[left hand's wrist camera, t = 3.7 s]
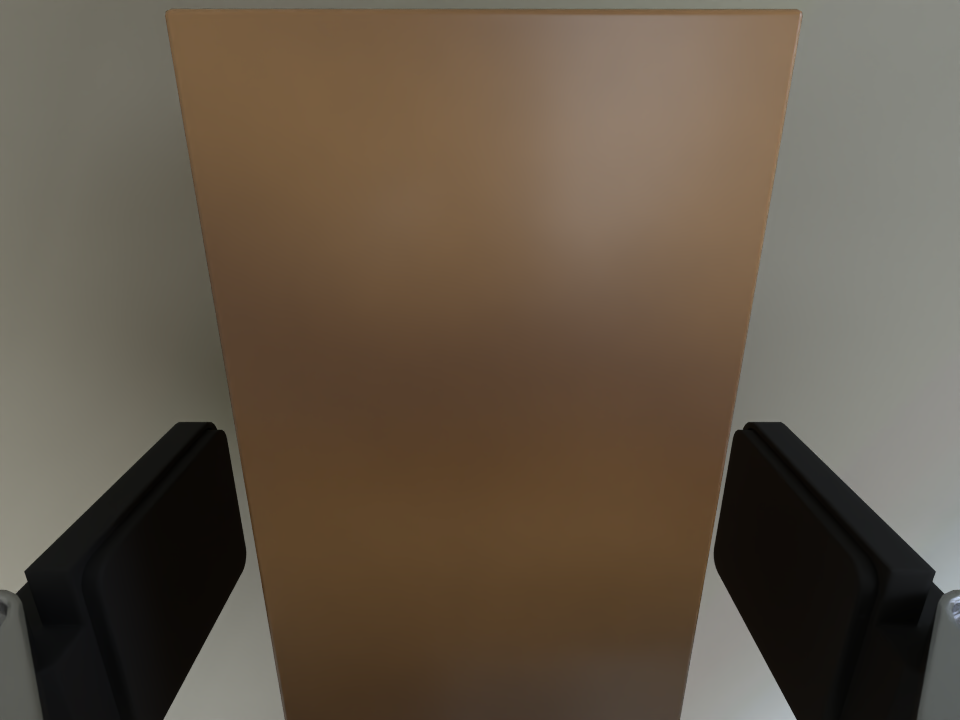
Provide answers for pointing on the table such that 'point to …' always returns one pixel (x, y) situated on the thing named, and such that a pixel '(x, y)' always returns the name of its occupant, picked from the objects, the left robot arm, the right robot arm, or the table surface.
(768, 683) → the table surface
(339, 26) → the bar
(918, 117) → the table surface
